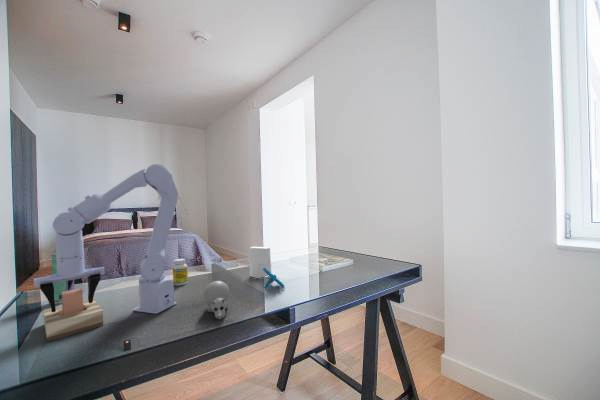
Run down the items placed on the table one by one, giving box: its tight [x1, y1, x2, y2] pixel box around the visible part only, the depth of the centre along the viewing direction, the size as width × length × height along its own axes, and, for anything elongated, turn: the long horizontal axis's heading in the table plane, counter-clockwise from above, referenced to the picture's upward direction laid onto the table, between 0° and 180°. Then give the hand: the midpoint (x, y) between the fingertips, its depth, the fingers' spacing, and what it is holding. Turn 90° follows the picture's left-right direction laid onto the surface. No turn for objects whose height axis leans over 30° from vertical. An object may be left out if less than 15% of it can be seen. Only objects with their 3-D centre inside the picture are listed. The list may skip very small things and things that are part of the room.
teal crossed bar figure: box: [263, 268, 285, 290], centre depth 97 cm, size 11×6×10 cm
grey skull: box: [203, 280, 231, 320], centre depth 76 cm, size 7×12×8 cm, turn 20°
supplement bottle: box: [172, 258, 189, 286], centre depth 107 cm, size 5×5×10 cm
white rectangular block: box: [249, 246, 272, 277], centre depth 114 cm, size 9×9×12 cm
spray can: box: [51, 248, 75, 305], centre depth 92 cm, size 6×6×20 cm
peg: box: [61, 288, 84, 316], centre depth 73 cm, size 4×4×8 cm
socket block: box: [42, 298, 104, 342], centre depth 73 cm, size 14×11×4 cm
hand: (72, 306), depth 73 cm, fingers open, 7 cm apart
